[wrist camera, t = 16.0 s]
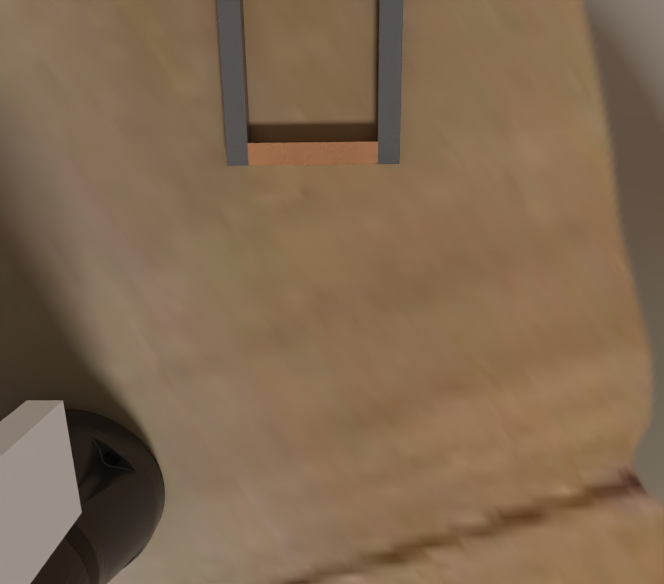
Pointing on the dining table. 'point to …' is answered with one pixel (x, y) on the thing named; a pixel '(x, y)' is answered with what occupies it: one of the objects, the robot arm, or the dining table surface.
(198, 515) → the dining table surface
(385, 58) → the open rectangular frame
